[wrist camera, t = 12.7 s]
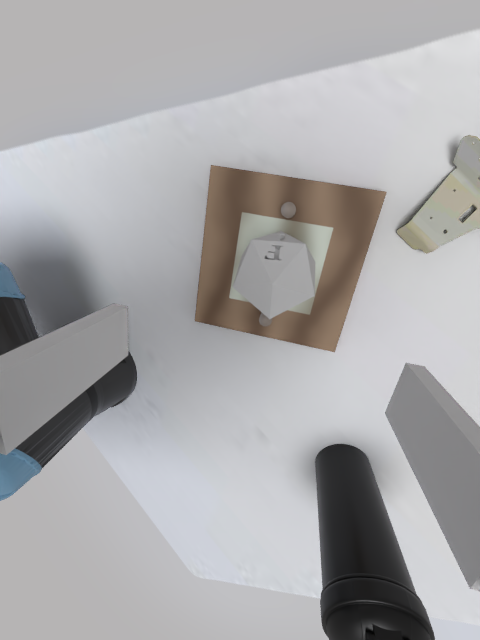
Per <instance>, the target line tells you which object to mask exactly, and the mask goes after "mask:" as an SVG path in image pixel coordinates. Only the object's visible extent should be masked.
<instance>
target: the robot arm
mask: <svg viewBox="0 0 480 640" xmlns="http://www.w3.org/2000/svg"><path fill="white" fill-rule="evenodd" d="M24 299H25V296H24V295H23V294H21V292H20V290H19V288H18V285H17V283H16V281H15V279H14V277H13V275H12V273H11V271H10V269H9V268H8V267H7V266H6V265H5V264H3V263H1V262H0V501H1V500H4V499H6V498H8V497H10V496H11V495H13V494H14V493H15V492H16V491H17V490H18V489H19V488H21V487H22V486H23V485H24V484H25V483H26V482H27V481H29V480H30V479H31V478H32V477H33V476H35V475H37V474H38V473H39V472H40V471H41V469H42V468H43V467H44V466H45V465H46V464H47V463H48V462H49V461H50V460H51V459H52V458H53V457H54V456H55V455H56V454H57V453H58V452H59V451H60V450H61V449H62V448H63V447H64V446H65V445H66V444H67V443H68V442H69V441H70V440H71V439H72V438H73V437H74V436H75V435H76V434H77V433H78V431H80V430H81V429H82V428H83V427H84V426H85V425H86V424H87V423H88V422H89V421H90V420H91V419H92V418H93V417H94V416H95V415H98V414H100V413H101V412H103V411H105V410H106V409H108V408H110V407H113V406H116V405H118V404H120V403H122V402H123V401H124V400H126V399H127V398H128V397H129V395H130V394H131V393H132V392H133V390H134V388H135V385H136V381H137V371H136V366H135V363H134V360H133V358H132V356H131V354H130V353H129V351H128V306H124V305H119V304H114V303H113V304H111V305H109V306H107V307H105V308H102V309H100V310H98V311H96V312H94V313H92V314H89V315H87V316H85V317H83V318H81V319H79V320H76V321H74V322H72V323H70V324H68V325H66V326H63V327H61V328H59V329H57V330H55V331H53V332H50V333H48V334H46V335H44V336H42V337H40V338H39V337H38V334H37V332H36V329H35V327H34V324H33V322H32V319H31V317H30V314H29V312H28V309H27V307H26V304H25V302H24ZM385 414H386V416H387V418H388V420H389V423H390V425H391V427H392V429H393V431H394V433H395V435H396V437H397V439H398V441H399V443H400V445H401V447H402V449H403V451H404V453H405V455H406V458H407V460H408V462H409V464H410V466H411V468H412V470H413V472H414V474H415V476H416V478H417V480H418V482H419V484H420V486H421V488H422V490H423V493H424V495H425V497H426V499H427V501H428V503H429V505H430V507H431V509H432V511H433V513H434V515H435V517H436V519H437V521H438V523H439V525H440V528H441V530H442V532H443V534H444V536H445V538H446V540H447V542H448V544H449V546H450V548H451V550H452V552H453V554H454V556H455V558H456V561H457V563H458V565H459V567H460V569H461V571H462V573H463V575H464V577H465V579H466V581H467V583H468V585H469V587H470V589H474V590H477V591H480V427H479V426H478V425H477V424H476V423H475V421H474V420H473V419H472V418H471V417H470V416H469V415H468V414H467V413H466V412H465V410H464V409H463V408H462V407H461V406H460V405H459V404H458V403H457V402H456V401H455V399H454V398H453V397H452V396H451V395H450V394H449V393H448V392H447V391H446V390H445V389H444V387H443V386H442V385H441V384H440V383H439V382H438V381H437V380H436V379H435V378H434V376H433V375H432V374H431V373H430V372H429V371H428V370H427V369H426V368H425V367H424V366H419V365H414V364H409V363H406V364H405V366H404V369H403V371H402V373H401V376H400V378H399V381H398V383H397V385H396V388H395V390H394V393H393V395H392V397H391V400H390V402H389V404H388V407H387V409H386V412H385Z"/></svg>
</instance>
